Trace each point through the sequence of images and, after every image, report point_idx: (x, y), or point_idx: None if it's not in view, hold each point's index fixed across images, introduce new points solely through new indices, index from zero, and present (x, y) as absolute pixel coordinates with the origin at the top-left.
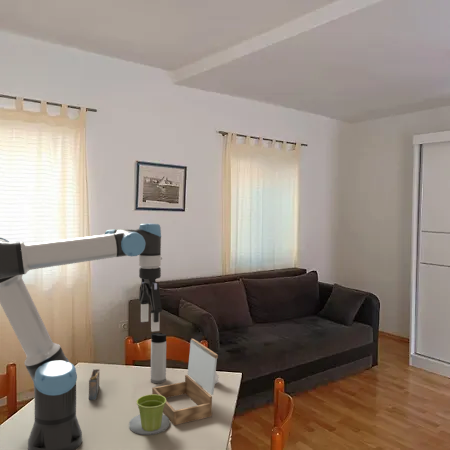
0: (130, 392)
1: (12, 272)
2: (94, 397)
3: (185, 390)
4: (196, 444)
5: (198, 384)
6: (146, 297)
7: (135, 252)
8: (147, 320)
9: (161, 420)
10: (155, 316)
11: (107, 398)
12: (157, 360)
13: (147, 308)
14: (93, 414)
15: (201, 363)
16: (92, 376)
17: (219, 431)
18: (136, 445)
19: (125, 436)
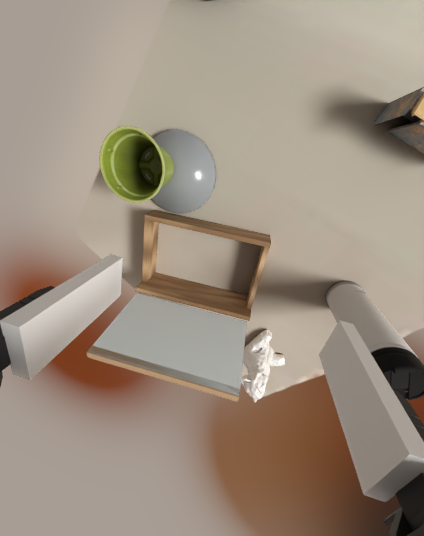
0: (338, 217)
1: None
2: (379, 118)
3: (247, 298)
4: (87, 204)
5: (262, 332)
6: None
7: None
8: (323, 355)
9: (139, 182)
10: (5, 313)
11: (353, 153)
12: (350, 316)
13: (351, 438)
14: (297, 80)
15: (172, 337)
16: None
17: (107, 254)
18: (123, 112)
19: (162, 108)
